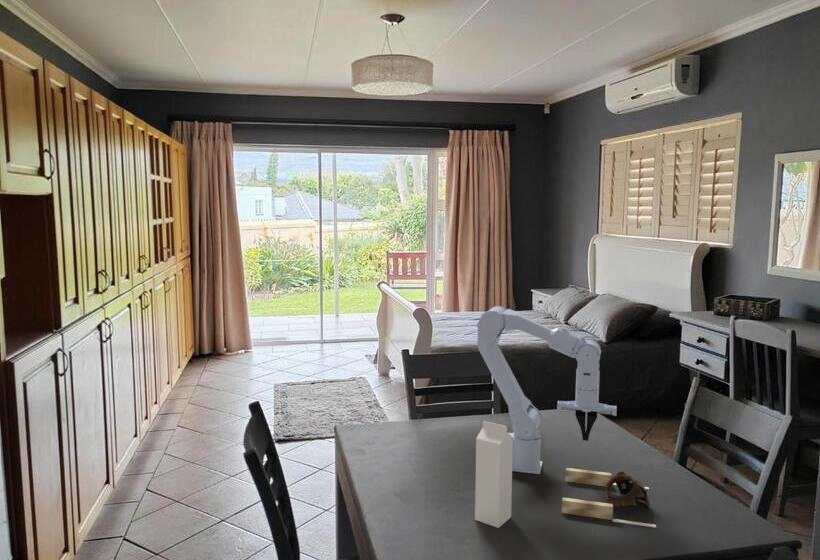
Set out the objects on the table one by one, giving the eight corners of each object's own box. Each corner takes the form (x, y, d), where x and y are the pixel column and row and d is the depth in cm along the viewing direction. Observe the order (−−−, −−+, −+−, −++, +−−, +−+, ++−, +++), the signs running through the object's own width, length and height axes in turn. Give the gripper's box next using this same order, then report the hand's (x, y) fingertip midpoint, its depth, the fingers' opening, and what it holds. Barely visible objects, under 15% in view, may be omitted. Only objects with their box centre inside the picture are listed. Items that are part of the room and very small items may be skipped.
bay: (612, 521, 135) (612, 520, 135) (610, 483, 154) (610, 482, 154) (656, 527, 132) (656, 526, 132) (648, 488, 151) (648, 487, 151)
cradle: (561, 512, 139) (562, 500, 139) (565, 478, 156) (566, 467, 156) (612, 520, 136) (613, 507, 135) (610, 484, 153) (611, 473, 153)
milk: (488, 509, 140) (489, 416, 138) (511, 517, 137) (513, 422, 134) (474, 520, 135) (475, 424, 133) (498, 528, 132) (500, 430, 130)
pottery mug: (659, 517, 138) (646, 491, 135) (619, 532, 140) (606, 506, 137) (641, 481, 149) (629, 457, 147) (604, 495, 151) (592, 471, 148)
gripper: (557, 389, 154) (555, 441, 155) (617, 394, 150) (615, 448, 151) (558, 382, 161) (557, 432, 162) (616, 386, 156) (614, 438, 158)
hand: (585, 439), depth 157 cm, fingers closed
